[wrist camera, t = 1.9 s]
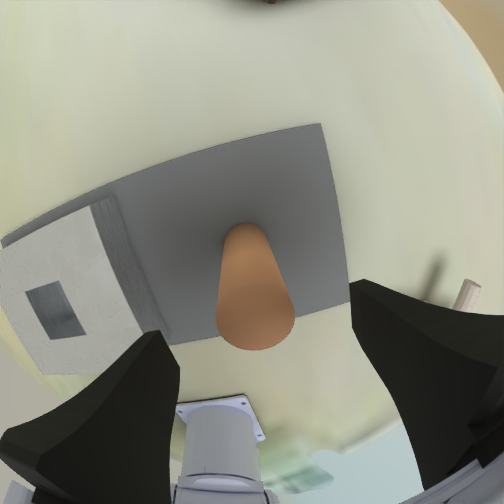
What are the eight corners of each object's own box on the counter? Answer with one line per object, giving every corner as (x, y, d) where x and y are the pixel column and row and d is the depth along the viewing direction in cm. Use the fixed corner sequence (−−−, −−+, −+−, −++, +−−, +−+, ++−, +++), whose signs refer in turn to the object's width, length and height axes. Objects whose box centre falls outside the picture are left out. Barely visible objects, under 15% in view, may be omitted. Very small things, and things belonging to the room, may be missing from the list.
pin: (271, 258, 19) (300, 340, 11) (231, 268, 20) (229, 357, 11) (261, 218, 18) (286, 275, 10) (219, 229, 19) (205, 296, 10)
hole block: (171, 335, 21) (161, 367, 17) (59, 351, 22) (43, 374, 18) (115, 195, 17) (89, 205, 13) (8, 246, 18) (-18, 261, 14)
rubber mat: (348, 299, 22) (350, 301, 21) (60, 356, 22) (58, 358, 22) (318, 123, 17) (320, 123, 17) (2, 238, 18) (0, 240, 17)
